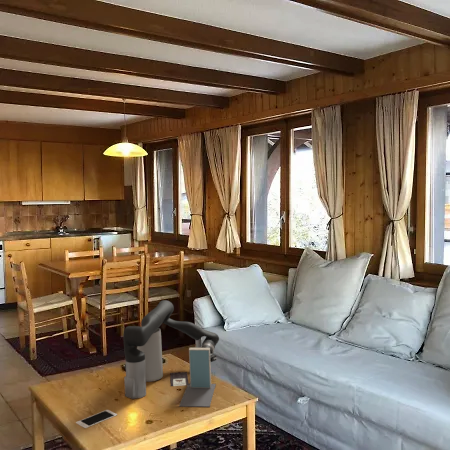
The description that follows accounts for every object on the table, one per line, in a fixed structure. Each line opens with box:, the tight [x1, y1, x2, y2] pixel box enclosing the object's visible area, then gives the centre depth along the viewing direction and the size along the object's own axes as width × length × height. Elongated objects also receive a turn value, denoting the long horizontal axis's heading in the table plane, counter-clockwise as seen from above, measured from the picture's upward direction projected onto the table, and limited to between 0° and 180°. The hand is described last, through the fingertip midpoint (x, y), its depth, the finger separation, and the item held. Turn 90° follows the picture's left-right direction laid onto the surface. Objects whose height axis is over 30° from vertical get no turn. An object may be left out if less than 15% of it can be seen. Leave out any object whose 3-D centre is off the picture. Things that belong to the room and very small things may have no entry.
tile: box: [188, 347, 212, 388], centre depth 244 cm, size 2×10×20 cm, turn 85°
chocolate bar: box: [169, 371, 190, 387], centre depth 257 cm, size 9×1×18 cm
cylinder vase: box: [136, 327, 164, 383], centre depth 259 cm, size 12×12×25 cm
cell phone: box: [75, 409, 118, 429], centre depth 214 cm, size 8×16×1 cm, turn 137°
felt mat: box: [178, 382, 217, 408], centre depth 237 cm, size 26×14×1 cm, turn 175°
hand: (201, 363), depth 245 cm, fingers closed
